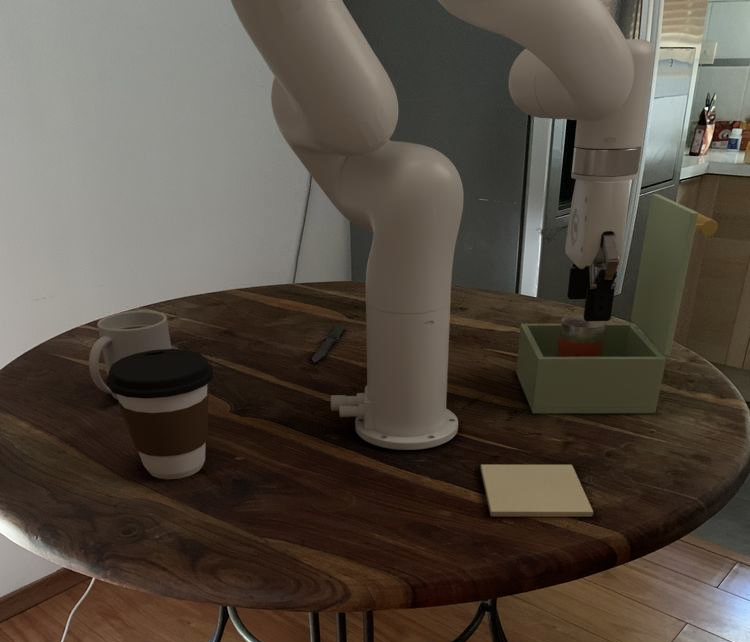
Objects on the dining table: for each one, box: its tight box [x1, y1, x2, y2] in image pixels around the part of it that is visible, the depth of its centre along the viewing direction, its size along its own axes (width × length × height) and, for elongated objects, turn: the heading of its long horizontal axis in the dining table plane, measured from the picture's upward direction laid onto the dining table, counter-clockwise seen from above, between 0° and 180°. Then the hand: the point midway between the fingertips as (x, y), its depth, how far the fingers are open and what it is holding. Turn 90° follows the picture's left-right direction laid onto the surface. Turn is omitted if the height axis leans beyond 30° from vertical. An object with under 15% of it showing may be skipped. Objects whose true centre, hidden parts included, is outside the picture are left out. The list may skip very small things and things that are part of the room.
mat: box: [480, 464, 594, 518], centre depth 76 cm, size 10×10×1 cm
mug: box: [88, 310, 172, 401], centre depth 99 cm, size 11×10×10 cm
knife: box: [311, 322, 346, 364], centre depth 118 cm, size 18×1×3 cm
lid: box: [630, 193, 718, 356], centre depth 92 cm, size 16×15×5 cm
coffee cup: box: [105, 348, 214, 480], centre depth 79 cm, size 11×11×12 cm
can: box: [557, 314, 607, 357], centre depth 97 cm, size 6×6×9 cm
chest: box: [516, 322, 667, 414], centre depth 98 cm, size 16×15×7 cm
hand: (587, 309), depth 95 cm, fingers open, 9 cm apart
